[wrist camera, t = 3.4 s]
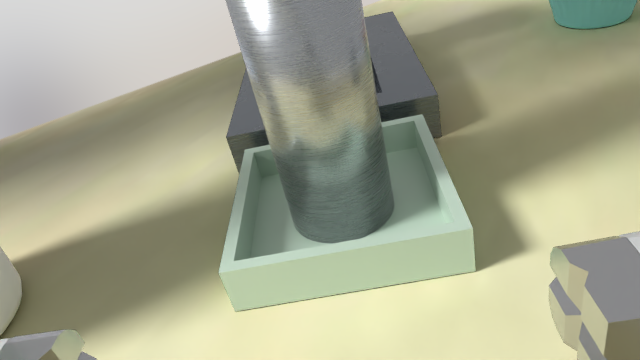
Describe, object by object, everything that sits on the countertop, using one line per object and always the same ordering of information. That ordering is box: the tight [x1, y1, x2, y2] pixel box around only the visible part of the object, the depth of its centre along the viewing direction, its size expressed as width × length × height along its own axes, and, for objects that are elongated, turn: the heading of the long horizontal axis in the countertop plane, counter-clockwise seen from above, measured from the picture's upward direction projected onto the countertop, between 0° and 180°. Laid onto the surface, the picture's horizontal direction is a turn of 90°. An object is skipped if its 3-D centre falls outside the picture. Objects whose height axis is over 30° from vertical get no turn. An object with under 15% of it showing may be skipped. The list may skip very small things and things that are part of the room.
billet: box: [226, 0, 394, 244], centre depth 19 cm, size 4×4×12 cm
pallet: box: [226, 11, 442, 175], centre depth 33 cm, size 11×16×2 cm
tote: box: [219, 114, 476, 311], centre depth 22 cm, size 9×9×2 cm
